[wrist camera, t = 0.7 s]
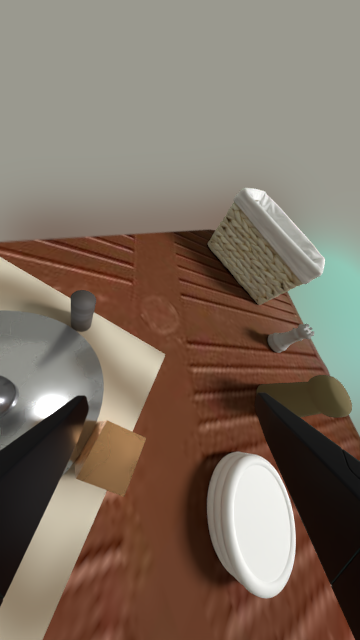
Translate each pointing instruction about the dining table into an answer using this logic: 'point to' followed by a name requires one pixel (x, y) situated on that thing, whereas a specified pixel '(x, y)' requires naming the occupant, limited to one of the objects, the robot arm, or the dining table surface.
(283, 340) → the white chess piece
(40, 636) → the birch base board
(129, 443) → the flange plate
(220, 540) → the coaster
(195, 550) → the dining table surface
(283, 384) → the cork
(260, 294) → the storage basket
